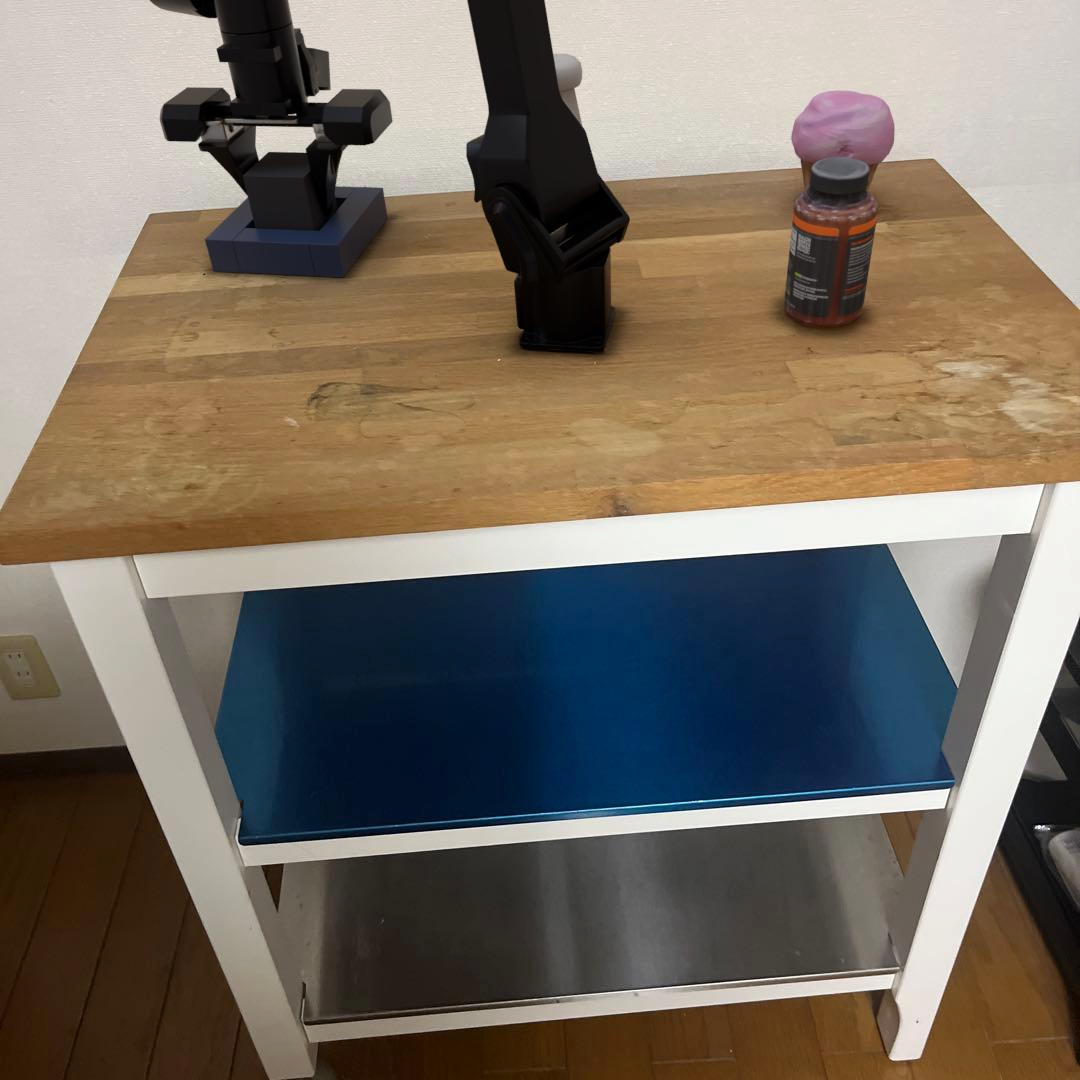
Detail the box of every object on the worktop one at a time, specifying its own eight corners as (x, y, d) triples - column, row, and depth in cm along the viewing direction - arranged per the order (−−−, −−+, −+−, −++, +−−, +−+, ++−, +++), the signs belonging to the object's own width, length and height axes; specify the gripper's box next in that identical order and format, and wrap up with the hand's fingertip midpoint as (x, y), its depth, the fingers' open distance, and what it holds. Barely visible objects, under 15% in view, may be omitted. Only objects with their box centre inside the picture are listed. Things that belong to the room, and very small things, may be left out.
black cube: (339, 218, 94) (327, 152, 91) (317, 244, 90) (303, 177, 86) (282, 216, 95) (268, 151, 92) (258, 242, 91) (242, 175, 87)
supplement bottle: (869, 300, 80) (893, 156, 73) (852, 336, 76) (877, 187, 69) (793, 289, 82) (809, 147, 75) (773, 323, 78) (788, 177, 71)
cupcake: (780, 188, 98) (791, 77, 91) (874, 186, 97) (892, 74, 90) (789, 227, 91) (802, 111, 84) (890, 226, 90) (910, 109, 84)
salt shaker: (587, 216, 95) (583, 68, 87) (526, 214, 96) (517, 67, 88) (597, 191, 99) (594, 47, 91) (539, 189, 101) (531, 47, 92)
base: (387, 218, 97) (383, 187, 95) (343, 277, 88) (337, 244, 86) (268, 214, 100) (261, 183, 98) (213, 271, 91) (204, 239, 89)
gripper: (398, -3, 86) (422, 181, 96) (194, -1, 90) (238, 176, 100) (353, 35, 78) (385, 232, 88) (131, 35, 81) (186, 224, 91)
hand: (296, 213), depth 92 cm, fingers closed on black cube, 5 cm apart
